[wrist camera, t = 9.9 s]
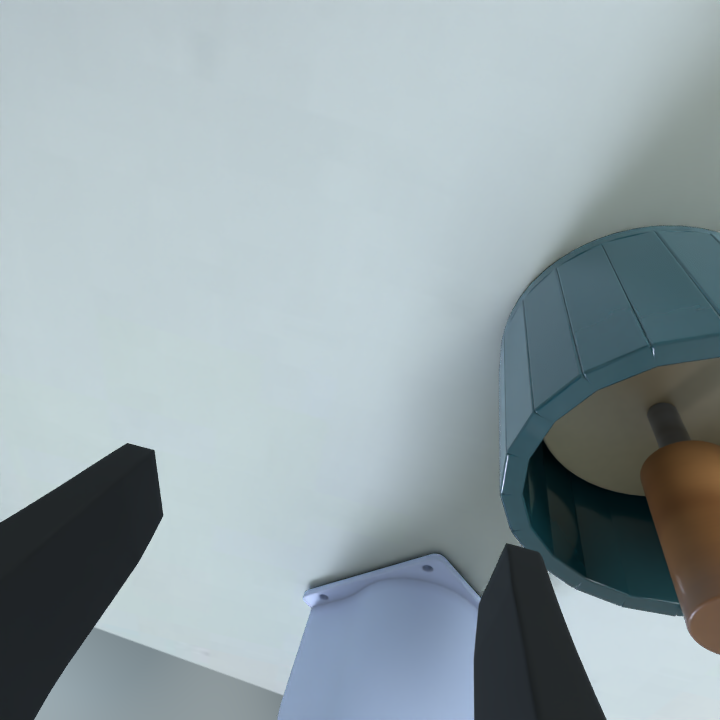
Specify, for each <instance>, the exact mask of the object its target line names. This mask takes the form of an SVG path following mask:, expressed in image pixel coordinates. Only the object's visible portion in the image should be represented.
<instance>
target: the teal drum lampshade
mask: <svg viewBox="0 0 720 720" xmlns="http://www.w3.org/2000/svg"><path fill="white" fill-rule="evenodd" d="M713 358H720V233H719V232H715V231H711V230H707V229H703V228H696V227H688V226H652V227H643V228H636V229H631V230H627V231H622V232H618V233H614V234H611V235H608V236H605V237H603V238H600V239H597V240H594V241H592V242H590V243H588V244H586V245H583V246H581V247H579V248H577V249H575V250H574V251H572V252H570V253H569V254H567V255H565V256H564V257H562V258H560V259H559V260H557V261H556V262H555V263H554V264H552V265H551V266H550V267H549V268H547V269H546V270H545V271H543V272H542V273H541V274H540V275H539V276H538V277H537V278H536V279H535V280H534V281H533V282H532V283H531V284H530V285H529V287H528V288H527V289H526V291H525V292H524V293H523V294H522V296H521V297H520V298H519V300H518V302H517V303H516V305H515V307H514V308H513V310H512V312H511V314H510V316H509V319H508V321H507V324H506V326H505V330H504V334H503V338H502V342H501V354H500V365H499V448H500V496H501V500H502V503H503V507H504V510H505V514H506V517H507V520H508V524H509V527H510V529H511V532H512V533H513V534H514V536H515V537H516V538H517V540H518V541H519V542H520V543H521V545H522V546H523V547H524V548H526V549H530V550H534V551H537V552H539V553H540V554H541V556H542V557H543V560H544V563H545V566H546V569H547V571H549V572H550V573H552V574H553V575H555V576H556V577H558V578H559V579H561V580H562V581H564V582H565V583H566V584H568V585H569V586H571V587H573V588H575V589H576V590H579V591H581V592H584V593H587V594H589V595H592V596H595V597H597V598H600V599H602V600H605V601H608V602H610V603H613V604H616V605H618V606H622V607H625V608H630V609H636V610H642V611H647V612H653V613H659V614H665V615H670V616H676V615H677V616H683V613H682V610H681V607H680V603H679V600H678V597H677V594H676V591H675V588H674V585H673V581H672V578H671V575H670V572H669V569H668V566H667V562H666V559H665V556H664V553H663V550H662V547H661V543H660V540H659V537H658V534H657V531H656V528H655V524H654V521H653V518H652V515H651V512H650V509H649V505H648V502H647V499H646V496H639V495H629V494H624V493H619V492H614V491H611V490H608V489H604V488H601V487H599V486H596V485H594V484H591V483H589V482H587V481H585V480H583V479H581V478H580V477H578V476H576V475H575V474H573V473H572V472H571V471H569V470H568V469H566V468H565V467H564V466H563V465H562V464H561V463H560V462H559V461H558V460H557V459H556V458H555V457H554V455H553V454H552V453H551V452H550V450H549V449H548V447H547V445H546V444H545V442H544V440H543V439H544V437H545V436H546V435H547V433H548V432H549V430H550V429H551V427H552V426H553V424H554V423H555V422H556V421H557V420H559V419H560V418H561V417H563V416H564V415H565V414H567V413H568V412H569V411H571V410H572V409H573V408H575V407H576V406H577V405H579V404H580V403H581V402H583V401H584V400H586V399H587V398H588V397H590V396H591V395H592V394H594V393H595V392H596V391H598V390H600V389H603V388H605V387H608V386H610V385H613V384H616V383H618V382H621V381H623V380H626V379H628V378H631V377H633V376H636V375H638V374H641V373H643V372H646V371H648V370H651V369H653V368H656V367H659V366H666V365H673V364H680V363H686V362H693V361H700V360H706V359H713Z"/></svg>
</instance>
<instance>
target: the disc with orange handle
mask: <svg viewBox="0 0 720 720" xmlns="http://www.w3.org/2000/svg"><path fill="white" fill-rule="evenodd" d="M543 440H544V442H545V444H546V445H547V447H548V449H549V450H550V452H551V453H552V454H553V455H554V457H555V458H556V459H557V460H558V461H559V462H560V463H561V464H562V465H563V466H564V467H565V468H566V469H568V470H569V471H571V472H572V473H573V474H575V475H576V476H578V477H580V478H581V479H583V480H585V481H587V482H589V483H591V484H594V485H596V486H599V487H601V488H604V489H608V490H611V491H614V492H619V493H624V494H629V495H639V496H646V499H647V502H648V505H649V509H650V512H651V515H652V518H653V521H654V524H655V528H656V531H657V534H658V537H659V540H660V543H661V547H662V550H663V553H664V556H665V559H666V562H667V566H668V569H669V572H670V575H671V578H672V581H673V585H674V588H675V591H676V594H677V597H678V600H679V603H680V607H681V610H682V613H683V616H684V619H685V622H686V626H687V629H688V631H689V633H690V635H691V636H692V637H693V639H694V640H695V641H696V642H697V643H698V644H700V645H701V646H702V647H704V648H706V649H708V650H709V651H712V652H714V653H716V654H719V655H720V358H713V359H706V360H700V361H693V362H686V363H680V364H673V365H666V366H659V367H656V368H653V369H651V370H648V371H646V372H643V373H641V374H638V375H636V376H633V377H631V378H628V379H626V380H623V381H621V382H618V383H616V384H613V385H610V386H608V387H605V388H603V389H600V390H598V391H596V392H595V393H594V394H592V395H591V396H590V397H588V398H587V399H586V400H584V401H583V402H581V403H580V404H579V405H577V406H576V407H575V408H573V409H572V410H571V411H569V412H568V413H567V414H565V415H564V416H563V417H561V418H560V419H559V420H557V421H556V422H555V423H554V424H553V426H552V427H551V429H550V430H549V432H548V433H547V435H546V436H545V437H544V439H543Z"/></svg>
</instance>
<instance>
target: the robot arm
mask: <svg viewBox="0 0 720 720" xmlns="http://www.w3.org/2000/svg"><path fill="white" fill-rule="evenodd" d="M162 517H163V510H162V503H161V495H160V488H159V481H158V473H157V466H156V459H155V451H154V450H151V449H148V448H144V447H140V446H136V445H132V444H129V443H127V444H125V445H124V446H122V447H120V448H119V449H117V450H115V451H114V452H112V453H111V454H109V455H107V456H106V457H104V458H103V459H101V460H100V461H98V462H96V463H95V464H93V465H92V466H90V467H89V468H87V469H86V470H84V471H82V472H81V473H79V474H78V475H76V476H75V477H73V478H72V479H70V480H68V481H67V482H65V483H64V484H62V485H61V486H59V487H58V488H56V489H54V490H53V491H51V492H50V493H48V494H46V495H45V496H43V497H41V498H40V499H38V500H37V501H35V502H33V503H32V504H30V505H29V506H27V507H25V508H24V509H22V510H20V511H19V512H17V513H16V514H14V515H12V516H11V517H9V518H7V519H6V520H4V521H2V522H0V720H34V719H35V717H36V715H37V713H38V712H39V710H40V708H41V707H42V705H43V703H44V701H45V699H46V698H47V696H48V694H49V693H50V691H51V689H52V688H53V686H54V685H55V683H56V682H57V680H58V679H59V677H60V675H61V674H62V672H63V671H64V669H65V668H66V666H67V665H68V663H69V662H70V660H71V659H72V658H73V656H74V655H75V653H76V652H77V650H78V649H79V648H80V646H81V645H82V643H83V642H84V640H85V639H86V637H87V636H88V635H89V633H90V632H91V630H92V629H93V627H94V626H95V625H96V623H97V622H98V620H99V619H100V617H101V616H102V615H103V613H104V612H105V610H106V609H107V607H108V606H109V605H110V603H111V602H112V600H113V599H114V597H115V596H116V594H117V593H118V592H119V590H120V589H121V587H122V586H123V584H124V583H125V581H126V580H127V578H128V577H129V576H130V574H131V573H132V571H133V570H134V568H135V567H136V565H137V564H138V562H139V560H140V559H141V557H142V555H143V553H144V551H145V550H146V548H147V546H148V544H149V542H150V541H151V539H152V537H153V535H154V533H155V531H156V529H157V527H158V525H159V523H160V521H161V519H162ZM303 600H304V601H305V602H306V603H307V604H308V605H309V606H310V607H311V608H312V609H311V612H310V615H309V618H308V621H307V624H306V627H305V630H304V633H303V637H302V640H301V643H300V646H299V649H298V652H297V655H296V658H295V661H294V665H293V668H292V671H291V674H290V677H289V680H288V683H287V686H286V690H285V693H284V696H283V699H282V702H281V705H280V709H279V713H278V717H277V720H606V717H605V715H604V713H603V711H602V708H601V706H600V704H599V702H598V700H597V697H596V695H595V693H594V690H593V688H592V686H591V683H590V681H589V679H588V676H587V674H586V672H585V669H584V667H583V665H582V662H581V660H580V657H579V655H578V653H577V650H576V648H575V645H574V643H573V640H572V638H571V635H570V633H569V630H568V628H567V625H566V622H565V620H564V617H563V614H562V612H561V609H560V606H559V604H558V601H557V598H556V595H555V593H554V590H553V587H552V584H551V581H550V578H549V575H548V572H547V569H546V566H545V563H544V560H543V557H542V556H541V554H540V553H539V552H537V551H534V550H530V549H526V548H522V547H518V546H515V545H511V544H507V543H506V545H505V547H504V549H503V552H502V554H501V556H500V558H499V560H498V563H497V565H496V567H495V569H494V571H493V574H492V576H491V578H490V580H489V582H488V585H487V587H486V589H485V591H484V593H483V596H482V598H480V597H479V596H478V594H477V593H476V592H475V591H474V590H473V589H472V588H471V587H470V585H469V584H468V583H467V582H466V581H465V580H464V579H463V577H462V576H461V575H460V574H459V573H458V572H457V571H456V570H455V568H454V567H453V566H452V565H451V564H450V563H449V562H448V560H447V559H446V558H445V557H443V556H442V555H440V554H430V555H427V556H423V557H420V558H416V559H413V560H409V561H406V562H402V563H399V564H396V565H392V566H389V567H385V568H382V569H378V570H375V571H371V572H368V573H364V574H361V575H358V576H354V577H351V578H347V579H344V580H340V581H337V582H333V583H330V584H327V585H323V586H320V587H316V588H313V589H309V590H307V591H305V593H304V596H303Z"/></svg>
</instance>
